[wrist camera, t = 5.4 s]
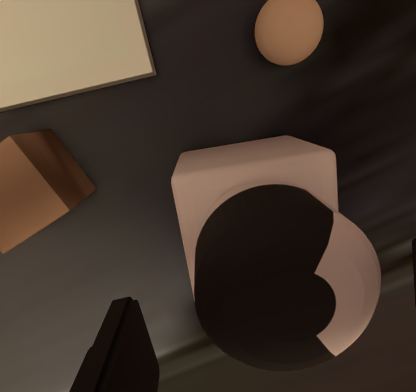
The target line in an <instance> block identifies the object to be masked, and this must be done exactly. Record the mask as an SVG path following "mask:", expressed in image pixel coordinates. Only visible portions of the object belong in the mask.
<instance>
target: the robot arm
mask: <svg viewBox="0 0 416 392" xmlns="http://www.w3.org/2000/svg"><path fill="white" fill-rule="evenodd" d="M412 251H413V269H414V287H415V305H416V238H414V239H413V241H412ZM158 382H159V365H158V361H157V358H156V355H155V352H154V349H153V346H152V343H151V340H150V337H149V333H148V330H147V327H146V324H145V321H144V318H143V315H142V312H141V309H140V306H139V303H138V301H137V300H132V298H131V297H126V298H121V299H117V300H113V301H112V303H111V305H110V307H109V310H108V312H107V314H106V317H105V319H104V321H103V323H102V326H101V328H100V330H99V332H98V335H97V337H96V339H95V342H94V344H93V346H92V347H90V348H89V350H88V352H87V354H86V356H85V358H84V360H83V363H82V365H81V367H80V369H79V372H78V374H77V376H76V378H75V380H74V383H73V385H72V387H71V389H70V392H157V389H158Z"/></svg>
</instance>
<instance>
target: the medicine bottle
mask: <svg viewBox="0 0 416 392" xmlns="http://www.w3.org/2000/svg"><path fill="white" fill-rule="evenodd" d="M171 185H172V190H173V195H174V200H175V205H176V211H177V216H178V221H179V226H180V231H181V236H182V241H183V246H184V251H185V256H186V261H187V266H188V271H189V276H190V281H191V286H192V291H193V296H194V301H195V308H196V312H197V316H198V319H199V321H200V323H201V326H202V328H203V329H204V331H205V332H206V334H207V336H208V337H209V338H210V339H211V340H212V342H213V343H214V344H215V345H216V346H217V347H219V348H220V349H221V350H222V351H223V352H225V353H226V354H228V355H229V356H231V357H232V358H234V359H236V360H239V361H241V362H243V363H245V364H247V365H250V366H253V367H256V368H260V369H266V370H273V371H292V370H299V369H304V368H308V367H312V366H315V365H318V364H320V363H323V362H325V361H327V360H329V359H331V358H333V357H335V356H337V355H338V354H339V353H341V352H342V351H344V350H345V349H346V348H348V347H349V346H350V345H351V344H352V343H353V342H354V341H355V340H356V339H357V338H358V337H359V336H360V335H361V334H362V332H363V331H364V329H365V328H366V326H367V325H368V323H369V321H370V319H371V317H372V315H373V313H374V310H375V307H376V304H377V301H378V298H379V293H380V288H381V273H380V265H379V261H378V258H377V255H376V252H375V250H374V248H373V246H372V244H371V242H370V241H369V240H368V238H367V237H366V236H365V234H364V233H363V232H362V231H361V230H360V229H359V228H358V227H357V226H356V225H355V224H354V223H352V222H351V221H350V220H348V219H347V218H346V217H344V216H343V215H342V214H340V213H339V212H338V194H337V172H336V156H335V153H334V152H333V151H332V150H330V149H327V148H324V147H321V146H318V145H315V144H312V143H310V142H307V141H304V140H301V139H298V138H295V137H292V136H288V135H284V136H278V137H272V138H266V139H260V140H254V141H248V142H242V143H236V144H230V145H224V146H218V147H211V148H205V149H199V150H193V151H187V152H183V153H181V155H180V156H179V159H178V162H177V165H176V167H175V170H174V173H173V176H172V178H171Z"/></svg>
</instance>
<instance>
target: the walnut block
mask: <svg viewBox="0 0 416 392" xmlns="http://www.w3.org/2000/svg"><path fill="white" fill-rule="evenodd" d="M95 190H96V187H95V186H94V185H93V183H92V182H91V181H90V180H89V178H88V177H87V176H86V174H85V173H84V172H83V170H82V169H81V168H80V166H79V165H78V164H77V163H76V161H75V160H74V159H73V157H72V156H71V155H70V153H69V152H68V151H67V149H66V148H65V147H64V146H63V144H62V143H61V142H60V140H59V139H58V138H57V136H56V135H55V134H54V132H53V131H52V130H51V129H50V130H44V131H37V132H31V133H25V134H19V135H12V136H9V137H7V138H6V139H5V140H3V141H2V142H0V251H1V252H2V253H3V254H4V253H5V252H7V251H8V250H10V249H12V248H13V247H15V246H16V245H18V244H19V243H21V242H22V241H24V240H25V239H27V238H29V237H30V236H32V235H33V234H35V233H36V232H38V231H39V230H41V229H42V228H44V227H45V226H47V225H49V224H50V223H52V222H53V221H55V220H56V219H58V218H59V217H61V216H62V215H64V214H65V213H67V212H69V211H70V210H71V209H72V208H74V207H75V206H76V205H77V204H79V203H80V202H81V201H82V200H84V199H85V198H86V197H87V196H88V195H90V194H91V193H92V192H93V191H95Z"/></svg>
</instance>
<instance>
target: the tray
mask: <svg viewBox="0 0 416 392" xmlns="http://www.w3.org/2000/svg"><path fill="white" fill-rule="evenodd" d="M155 75H157V74H156V70H155V66H154V62H153V58H152V54H151V50H150V46H149V42H148V39H147V35H146V31H145V27H144V23H143V19H142V15H141V11H140V7H139V3H138V0H0V112H3V111H7V110H11V109H15V108H19V107H24V106H28V105H32V104H36V103H41V102H45V101H49V100H53V99H58V98H62V97H66V96H70V95H74V94H79V93H83V92H87V91H91V90H96V89H100V88H104V87H108V86H113V85H117V84H121V83H125V82H129V81H134V80H138V79H142V78H146V77H151V76H155Z"/></svg>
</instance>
